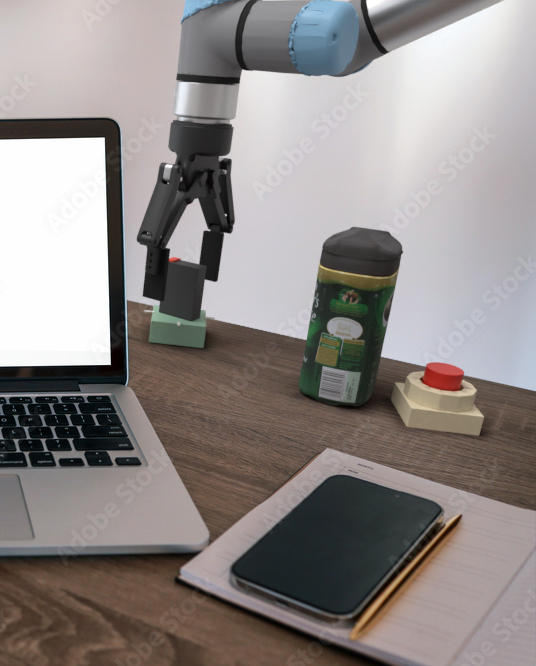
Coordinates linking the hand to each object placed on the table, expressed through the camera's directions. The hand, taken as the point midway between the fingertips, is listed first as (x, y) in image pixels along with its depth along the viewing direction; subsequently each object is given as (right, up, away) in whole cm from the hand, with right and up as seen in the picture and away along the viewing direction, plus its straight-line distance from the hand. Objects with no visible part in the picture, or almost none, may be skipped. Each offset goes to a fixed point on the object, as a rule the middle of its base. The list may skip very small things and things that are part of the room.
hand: (181, 288), depth 101 cm
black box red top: (0, -3, +1) cm, 4 cm away
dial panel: (0, -6, +2) cm, 7 cm away
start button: (+24, -11, -19) cm, 33 cm away
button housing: (+23, -15, -18) cm, 33 cm away
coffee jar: (+15, -13, -13) cm, 23 cm away
